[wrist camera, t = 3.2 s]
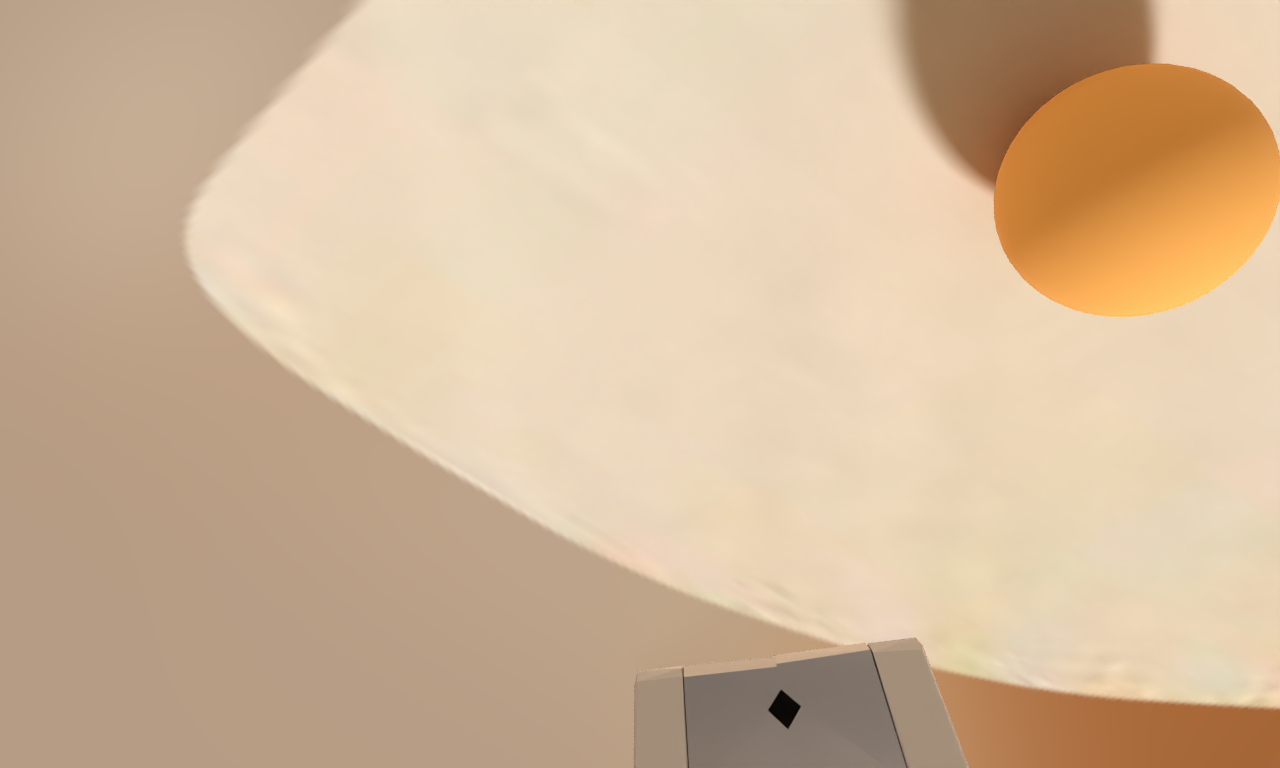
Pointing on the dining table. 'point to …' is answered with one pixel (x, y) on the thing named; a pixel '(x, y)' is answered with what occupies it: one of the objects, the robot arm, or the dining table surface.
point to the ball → (1137, 190)
